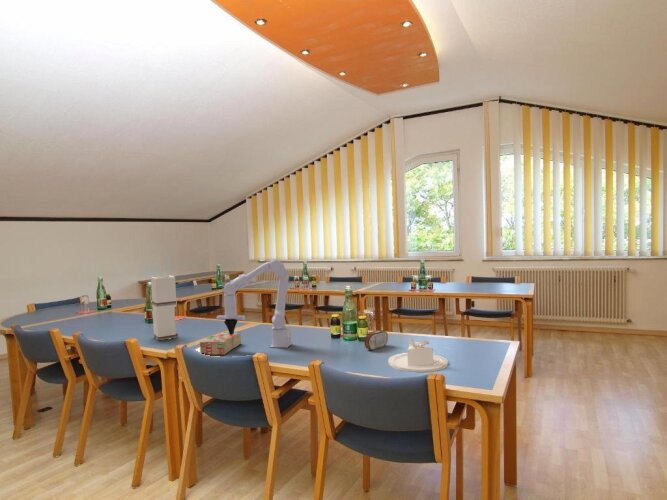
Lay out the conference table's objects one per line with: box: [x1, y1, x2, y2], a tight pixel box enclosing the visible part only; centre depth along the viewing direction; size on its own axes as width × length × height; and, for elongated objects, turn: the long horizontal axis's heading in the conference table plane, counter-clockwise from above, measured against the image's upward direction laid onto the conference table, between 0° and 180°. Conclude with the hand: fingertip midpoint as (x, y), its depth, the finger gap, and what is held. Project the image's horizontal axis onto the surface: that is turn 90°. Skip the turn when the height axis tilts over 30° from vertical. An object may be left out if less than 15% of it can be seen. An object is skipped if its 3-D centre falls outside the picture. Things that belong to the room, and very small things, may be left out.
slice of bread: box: [364, 329, 389, 351], centre depth 207 cm, size 15×3×8 cm, turn 134°
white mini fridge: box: [150, 275, 179, 341], centre depth 245 cm, size 11×11×35 cm
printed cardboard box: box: [199, 331, 242, 356], centre depth 215 cm, size 21×6×12 cm
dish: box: [388, 338, 449, 373], centre depth 182 cm, size 25×25×11 cm
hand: (231, 334), depth 213 cm, fingers closed
